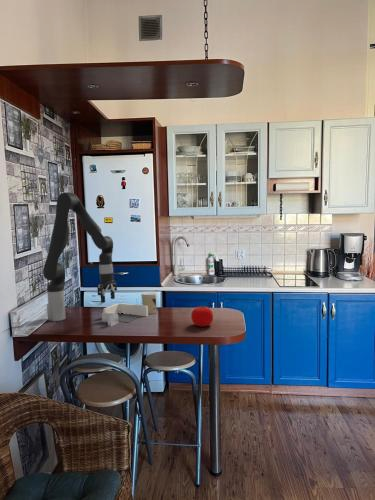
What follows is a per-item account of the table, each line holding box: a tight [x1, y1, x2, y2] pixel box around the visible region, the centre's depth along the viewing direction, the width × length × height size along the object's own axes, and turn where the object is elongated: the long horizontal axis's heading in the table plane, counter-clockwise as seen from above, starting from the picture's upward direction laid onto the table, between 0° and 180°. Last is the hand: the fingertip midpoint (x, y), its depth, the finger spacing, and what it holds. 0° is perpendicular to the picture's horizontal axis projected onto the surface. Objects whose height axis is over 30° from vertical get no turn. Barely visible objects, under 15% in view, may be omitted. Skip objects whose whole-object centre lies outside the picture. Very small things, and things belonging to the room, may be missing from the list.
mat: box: [118, 314, 140, 324], centre depth 217 cm, size 10×12×1 cm
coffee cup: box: [140, 291, 157, 315], centre depth 229 cm, size 9×9×12 cm
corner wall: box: [102, 302, 149, 317], centre depth 220 cm, size 21×15×6 cm
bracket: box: [101, 312, 120, 327], centre depth 208 cm, size 10×7×5 cm
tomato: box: [190, 305, 214, 328], centre depth 200 cm, size 12×12×10 cm
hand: (108, 300), depth 210 cm, fingers open, 8 cm apart
